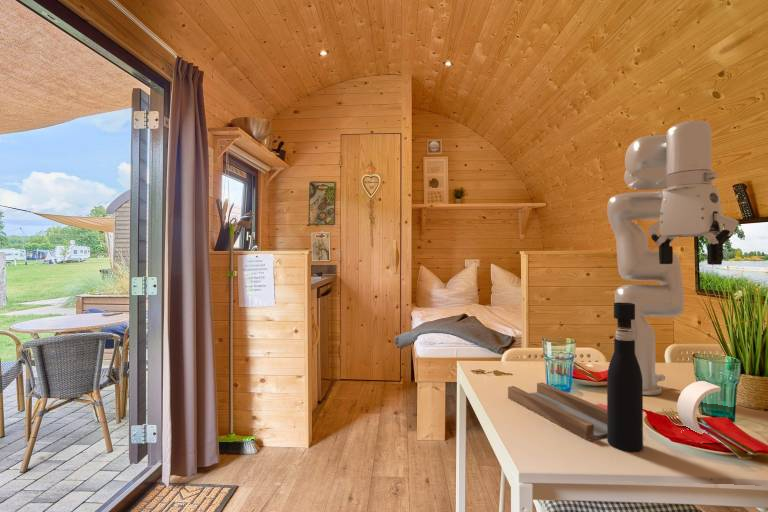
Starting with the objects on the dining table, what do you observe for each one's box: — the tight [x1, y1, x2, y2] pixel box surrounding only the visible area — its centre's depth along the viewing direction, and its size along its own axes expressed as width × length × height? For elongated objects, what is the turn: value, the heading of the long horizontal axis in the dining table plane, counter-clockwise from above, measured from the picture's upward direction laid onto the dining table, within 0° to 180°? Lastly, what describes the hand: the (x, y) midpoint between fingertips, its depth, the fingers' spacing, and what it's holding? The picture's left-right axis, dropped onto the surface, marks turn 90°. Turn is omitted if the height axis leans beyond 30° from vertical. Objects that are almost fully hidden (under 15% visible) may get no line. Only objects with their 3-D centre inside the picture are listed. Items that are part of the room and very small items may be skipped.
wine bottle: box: [606, 302, 644, 453], centre depth 84 cm, size 6×6×30 cm
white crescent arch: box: [676, 380, 722, 444], centre depth 86 cm, size 5×6×12 cm
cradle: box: [507, 382, 608, 441], centre depth 101 cm, size 12×28×3 cm, turn 19°
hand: (689, 264), depth 82 cm, fingers open, 9 cm apart
